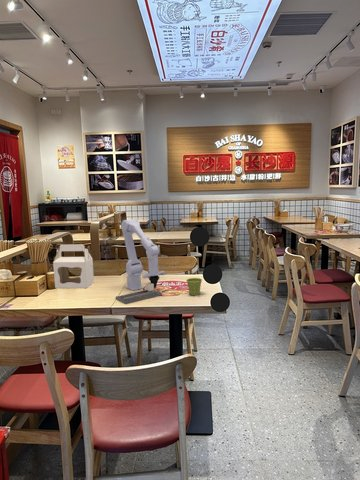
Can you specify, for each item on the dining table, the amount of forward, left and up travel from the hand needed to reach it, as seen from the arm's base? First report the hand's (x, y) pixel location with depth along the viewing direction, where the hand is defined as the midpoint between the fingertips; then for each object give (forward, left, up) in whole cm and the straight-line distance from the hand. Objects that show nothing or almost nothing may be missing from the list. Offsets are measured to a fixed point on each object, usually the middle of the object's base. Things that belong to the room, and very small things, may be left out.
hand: (154, 288), depth 203 cm
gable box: (-52, -30, -4) cm, 60 cm away
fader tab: (0, -3, -2) cm, 4 cm away
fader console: (0, -11, -3) cm, 11 cm away
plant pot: (+17, +17, -4) cm, 25 cm away
